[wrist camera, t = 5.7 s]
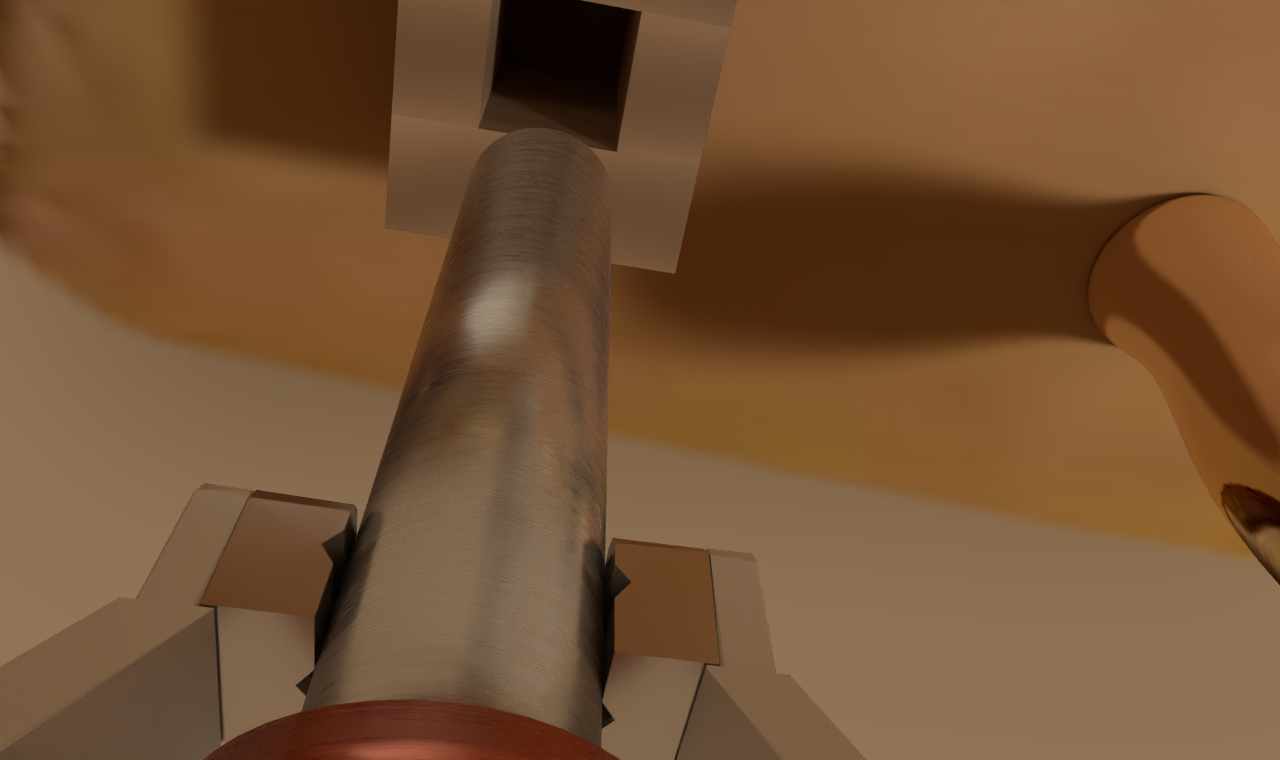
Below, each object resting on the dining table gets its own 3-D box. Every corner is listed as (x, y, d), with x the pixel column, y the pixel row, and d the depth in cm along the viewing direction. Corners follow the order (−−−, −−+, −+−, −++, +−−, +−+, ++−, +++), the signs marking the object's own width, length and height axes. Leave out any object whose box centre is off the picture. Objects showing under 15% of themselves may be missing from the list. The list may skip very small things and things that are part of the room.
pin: (438, 69, 18) (58, 838, 6) (670, 109, 18) (762, 900, 6) (421, 276, 20) (121, 1149, 8) (629, 308, 20) (640, 1180, 8)
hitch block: (446, -204, 28) (408, -185, 23) (736, -145, 29) (761, -114, 24) (420, 149, 33) (384, 228, 28) (666, 190, 34) (674, 273, 29)
